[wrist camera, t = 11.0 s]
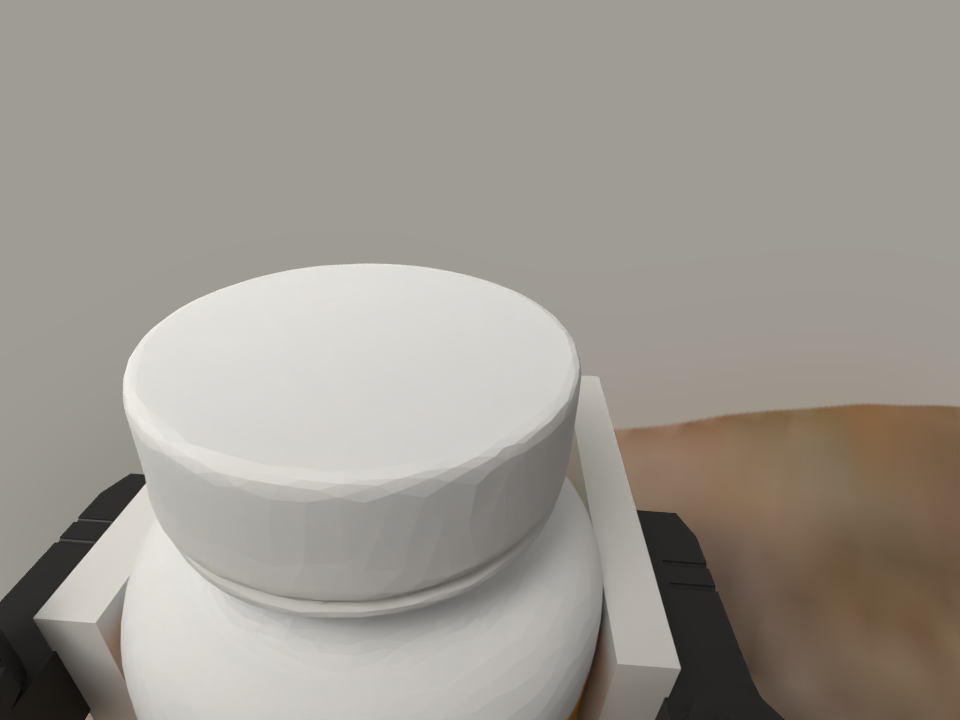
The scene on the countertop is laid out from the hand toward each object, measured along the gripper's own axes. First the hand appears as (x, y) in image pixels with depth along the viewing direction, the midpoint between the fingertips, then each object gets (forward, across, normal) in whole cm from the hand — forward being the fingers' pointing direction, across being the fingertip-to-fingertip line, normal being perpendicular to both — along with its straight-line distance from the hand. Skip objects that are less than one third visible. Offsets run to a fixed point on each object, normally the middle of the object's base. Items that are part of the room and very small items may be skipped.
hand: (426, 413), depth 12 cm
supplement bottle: (-5, 0, -7) cm, 8 cm away
